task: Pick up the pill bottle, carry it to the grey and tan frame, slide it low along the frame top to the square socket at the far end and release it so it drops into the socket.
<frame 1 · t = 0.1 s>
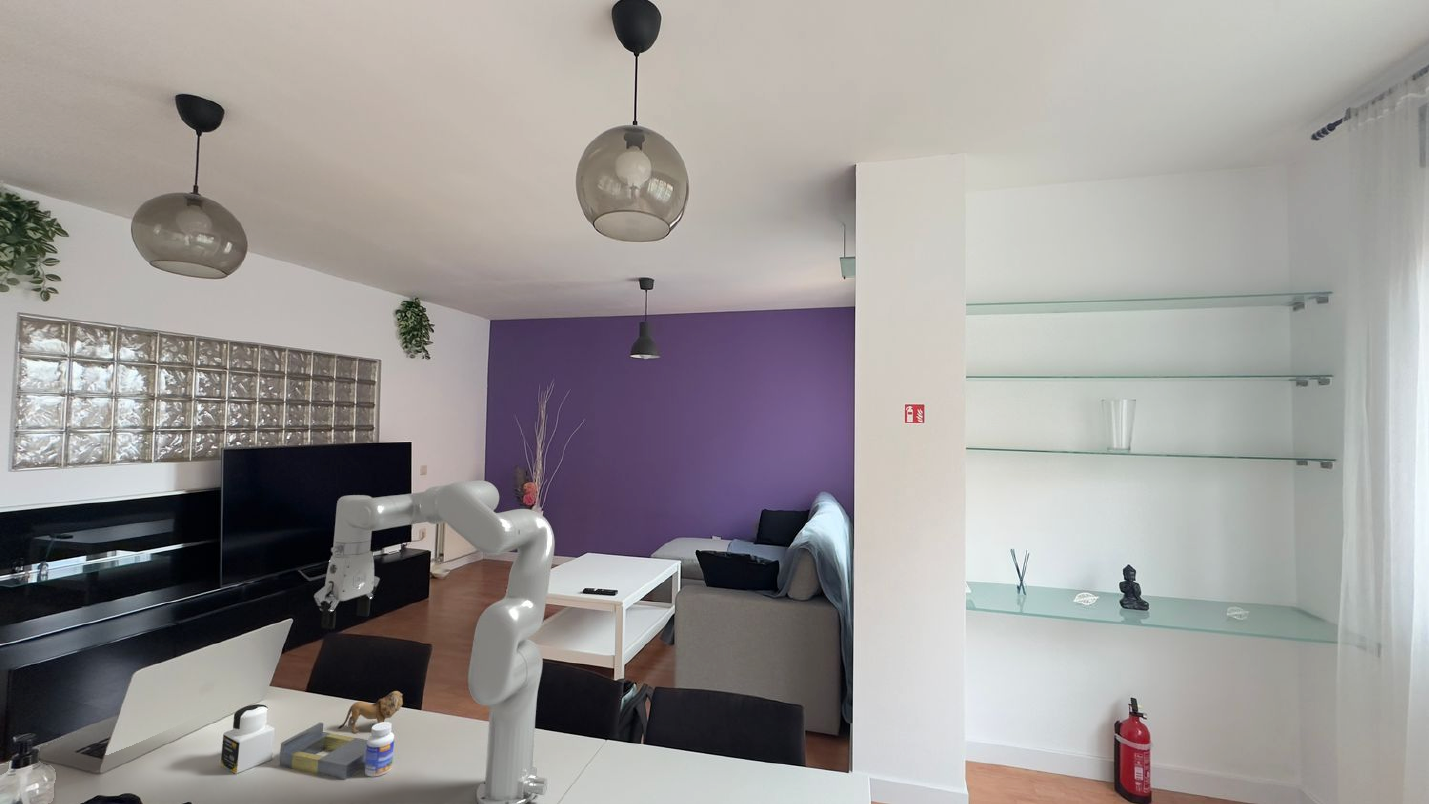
hand: (345, 621, 137), 31 cm above the table, tool pointing down, fingers open, 9 cm apart
lion figurine: (371, 729, 149), on the table
medicine bottle: (246, 763, 132), on the table
grey and tan frame: (334, 761, 134), on the table
pill bottle: (378, 771, 131), on the table
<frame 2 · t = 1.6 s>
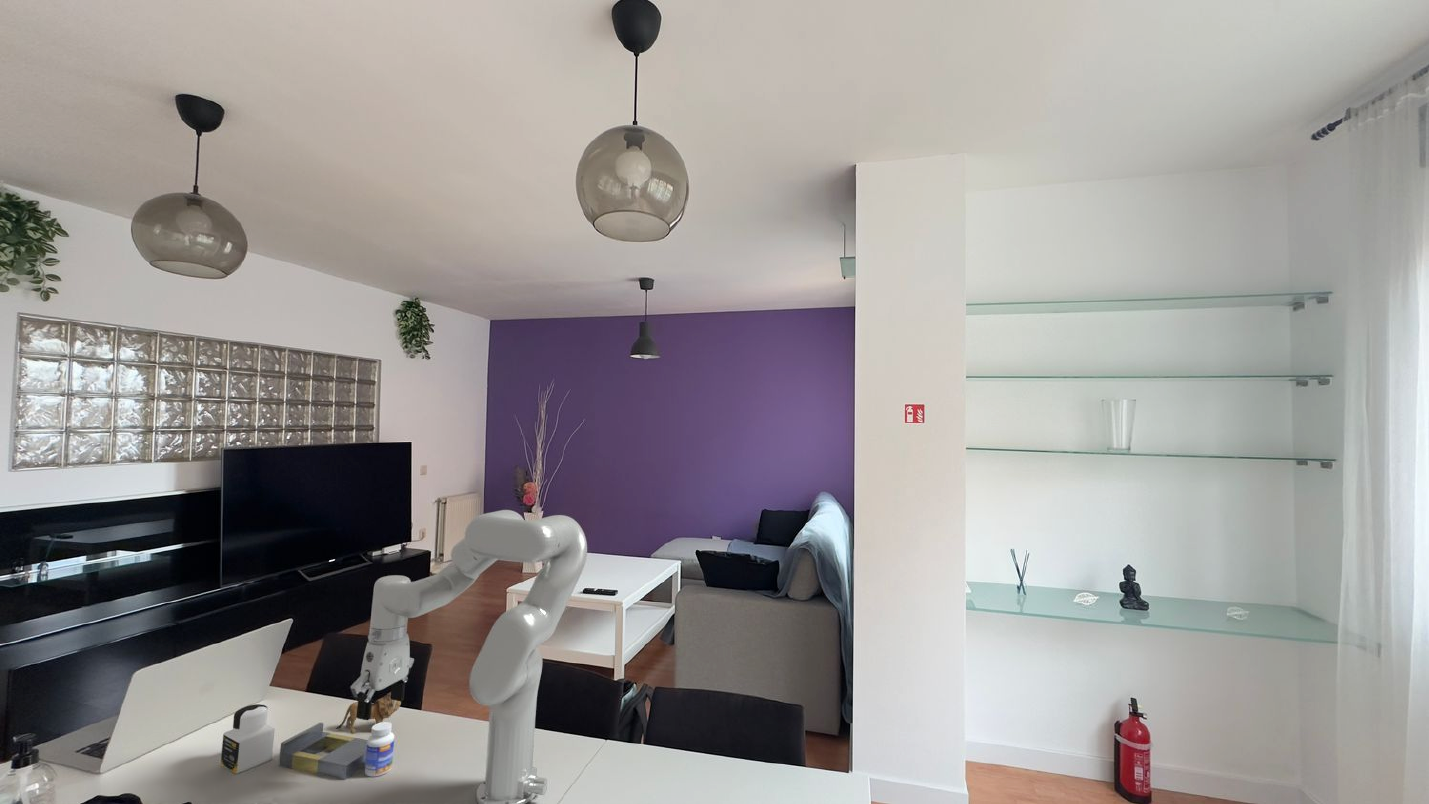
hand: (380, 709, 132), 13 cm above the table, tool pointing down, fingers open, 9 cm apart
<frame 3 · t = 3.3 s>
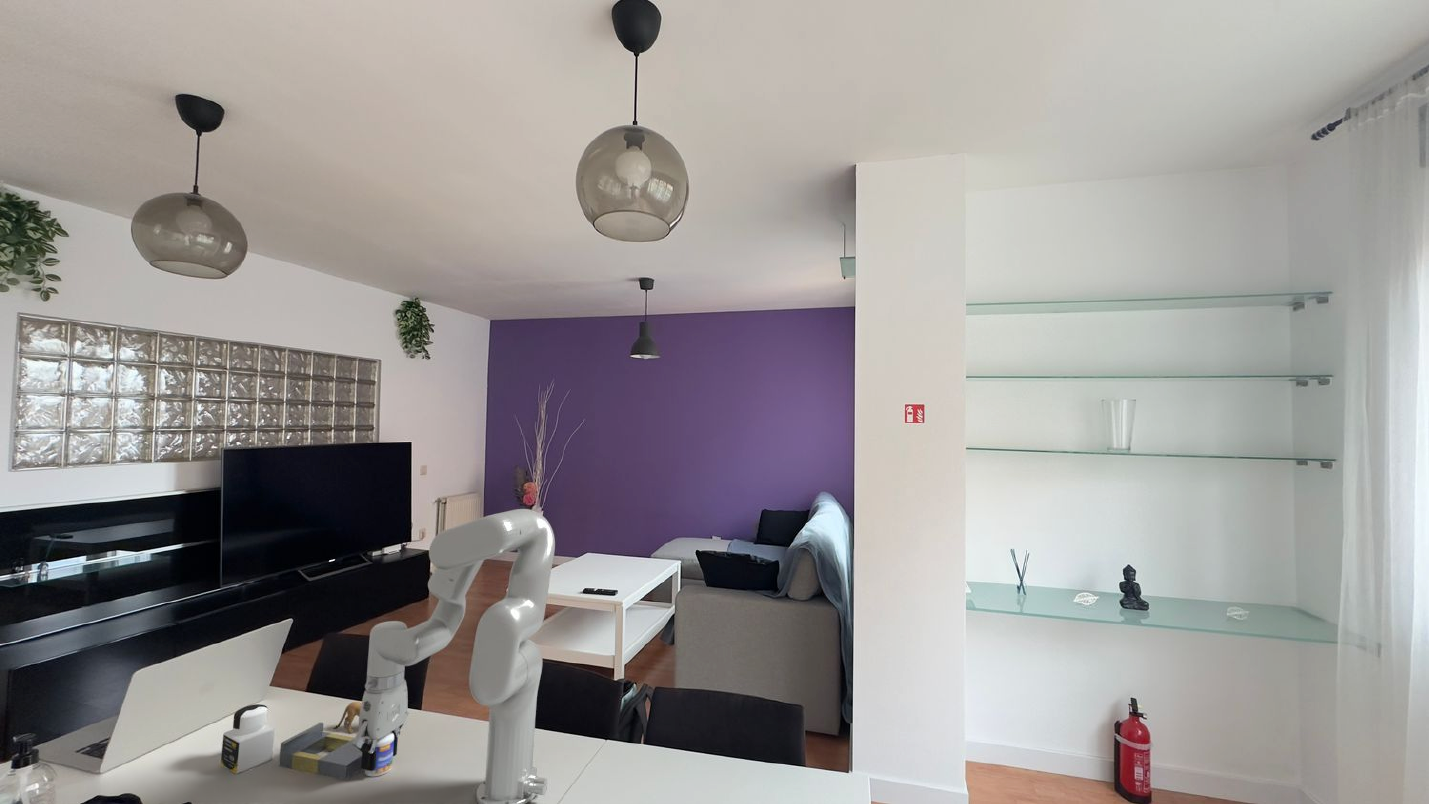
hand: (379, 761, 131), 2 cm above the table, tool pointing down, fingers closed on pill bottle, 5 cm apart
pill bottle: (378, 771, 131), on the table, touching gripper
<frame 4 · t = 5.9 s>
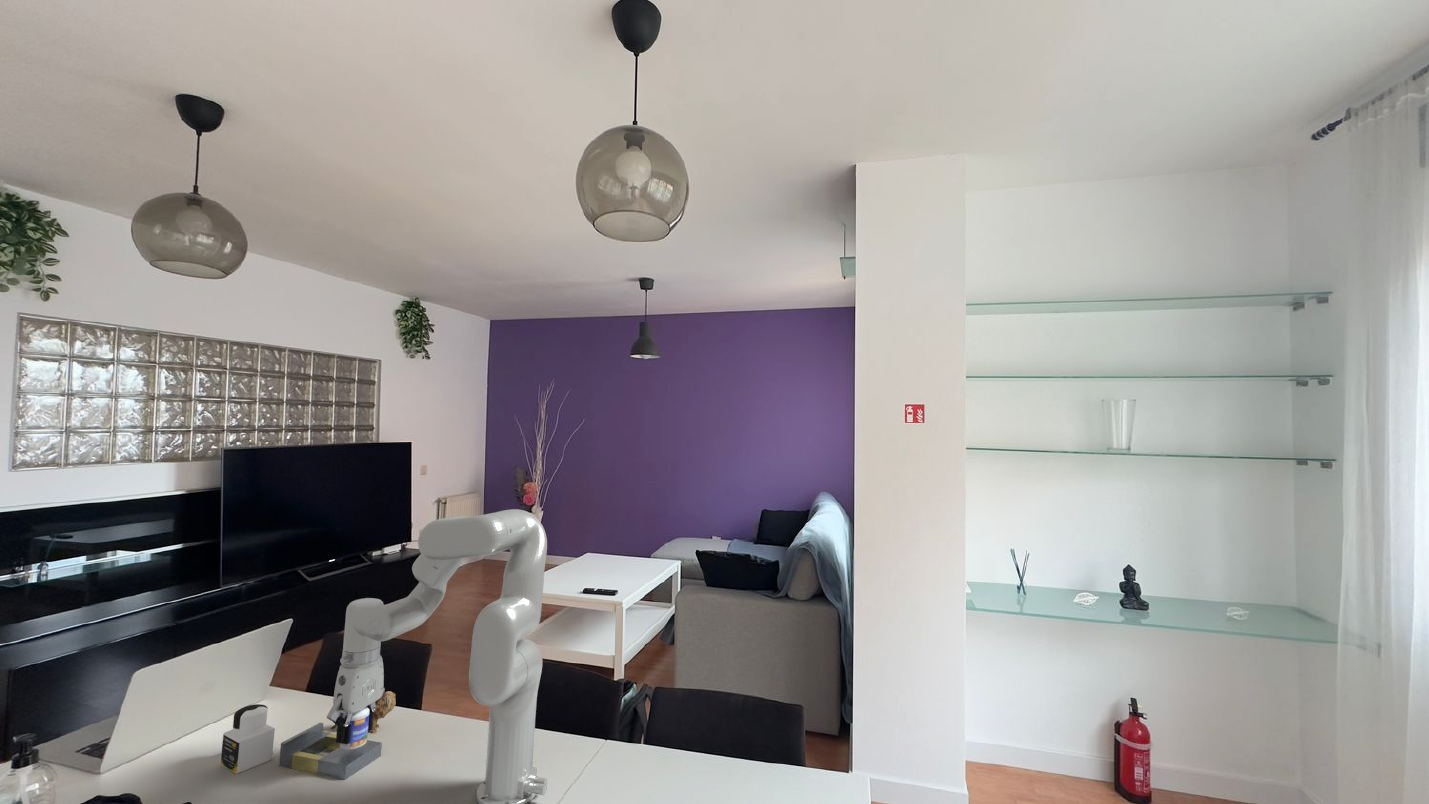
hand: (354, 735, 133), 7 cm above the table, tool pointing down, fingers closed on pill bottle, 5 cm apart
pill bottle: (353, 745, 133), point 4 cm above the table, touching gripper
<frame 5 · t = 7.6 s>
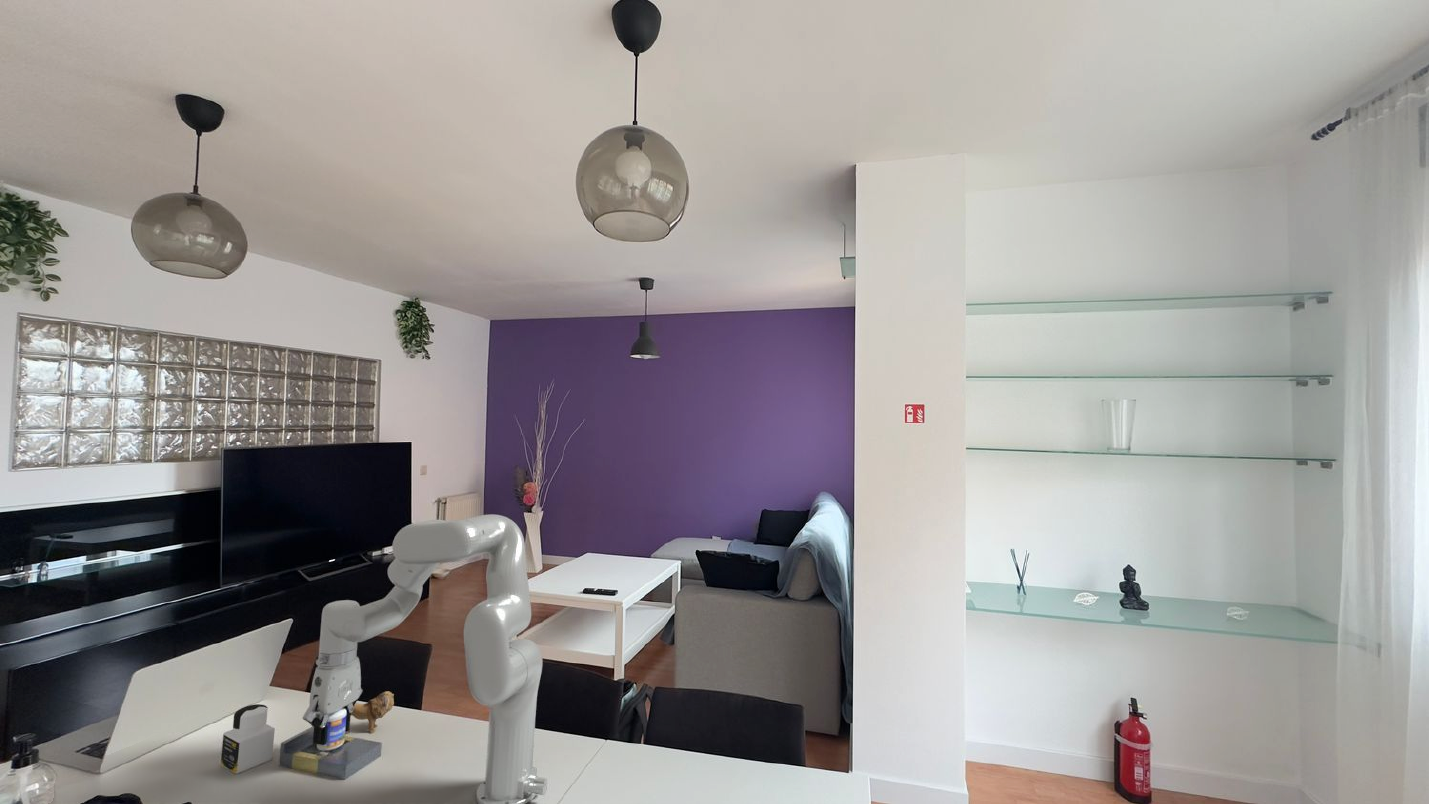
hand: (331, 736, 135), 5 cm above the table, tool pointing down, fingers closed on pill bottle, 5 cm apart
pill bottle: (330, 746, 135), point 3 cm above the table, touching gripper
when the fingers open (4 cm above the table, at t = 8.8 s): pill bottle drops 2 cm, resting in grey and tan frame.
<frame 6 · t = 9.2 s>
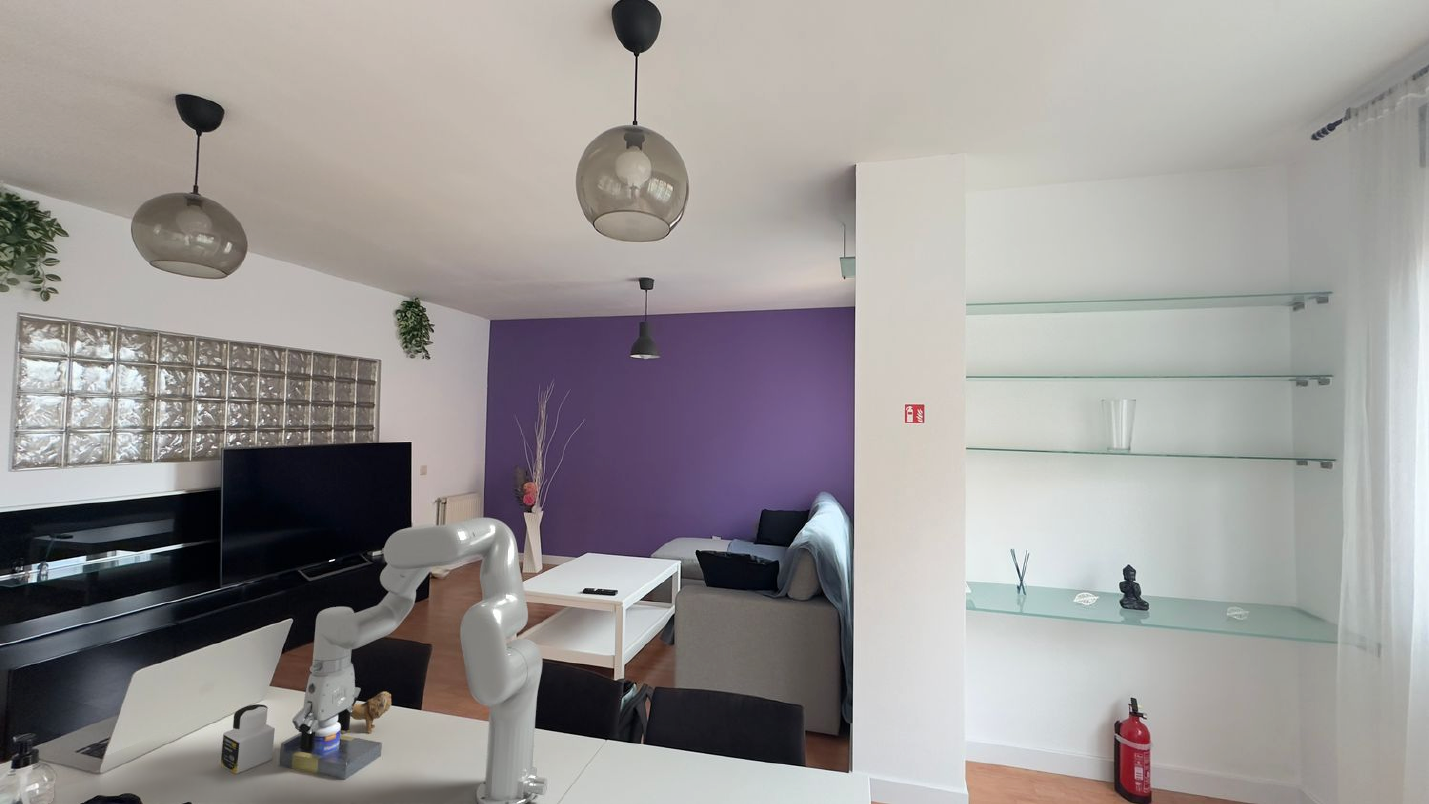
hand: (325, 739, 135), 4 cm above the table, tool pointing down, fingers open, 9 cm apart
pill bottle: (324, 760, 135), resting in grey and tan frame
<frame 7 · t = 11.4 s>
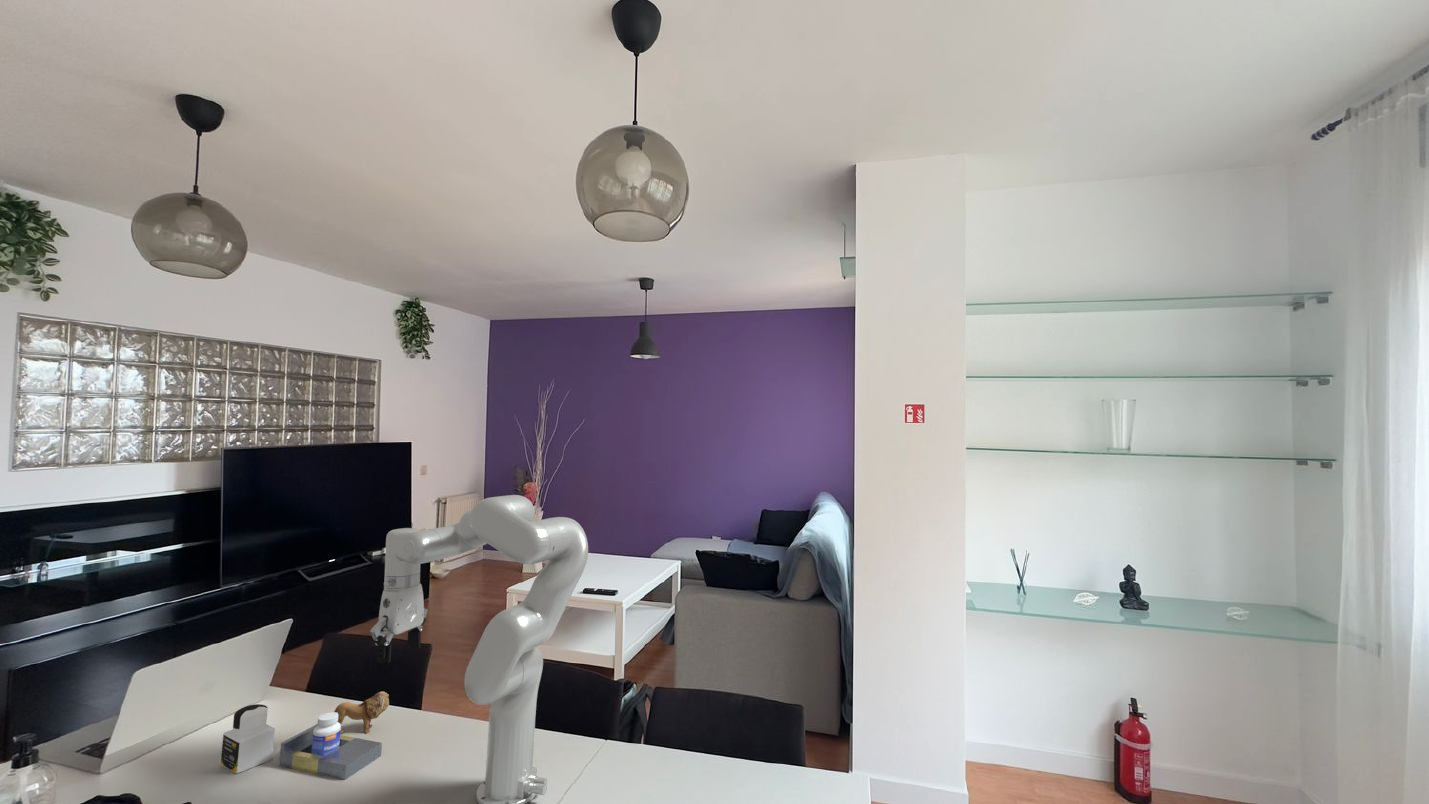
hand: (399, 655, 138), 23 cm above the table, tool pointing down, fingers open, 9 cm apart
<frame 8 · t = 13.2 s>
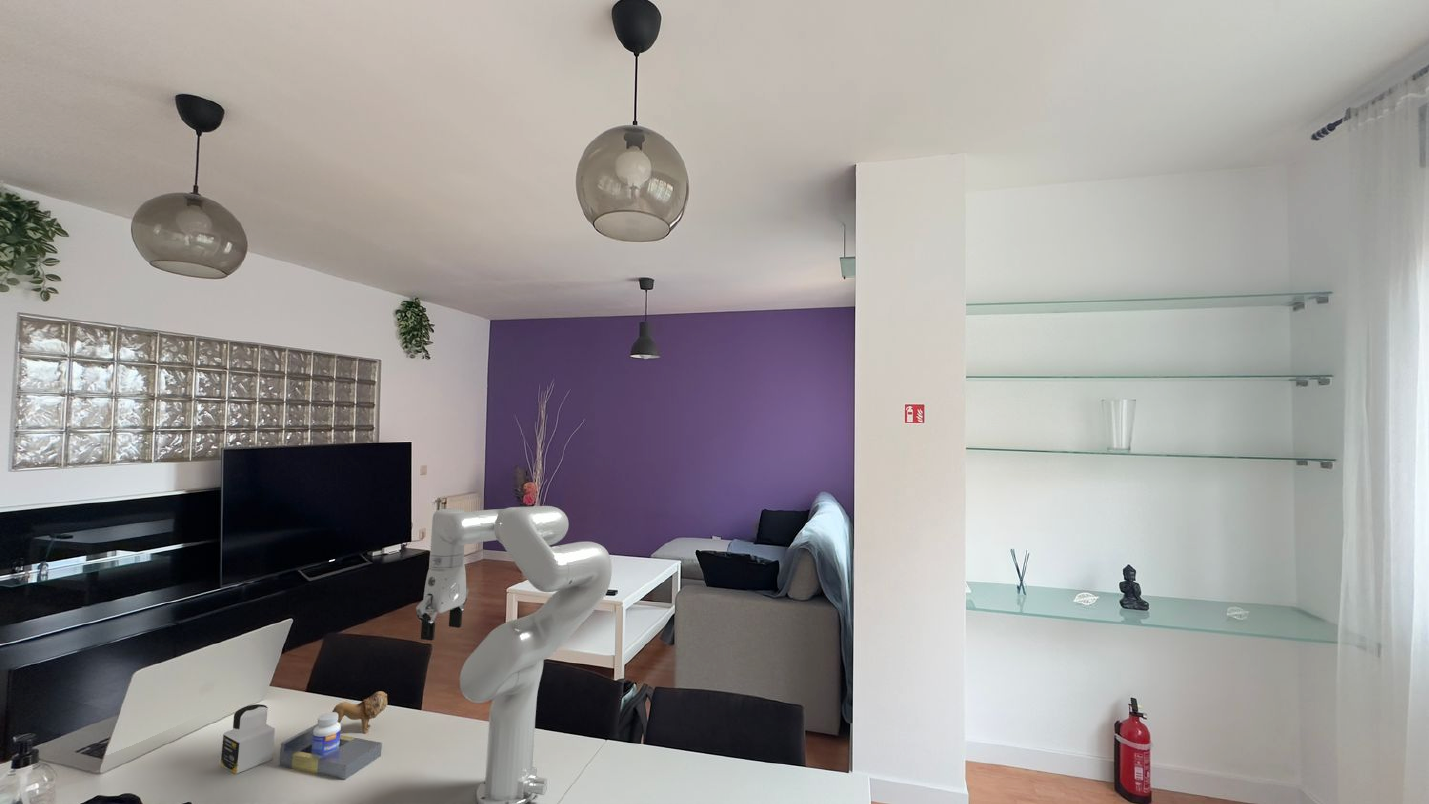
hand: (441, 633, 140), 28 cm above the table, tool pointing down, fingers open, 9 cm apart
at the end: pill bottle 0.2 cm from the target spot on the grey and tan frame, point 0.0 cm above the grey and tan frame's base; pill bottle tilted 0°; the gripper is holding nothing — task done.
